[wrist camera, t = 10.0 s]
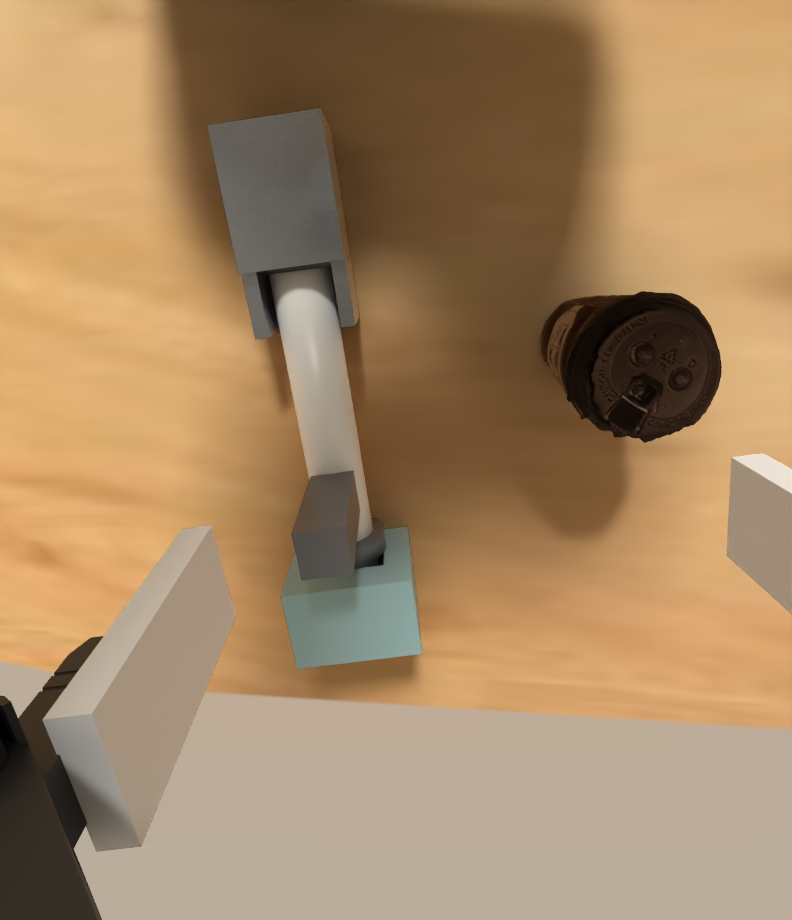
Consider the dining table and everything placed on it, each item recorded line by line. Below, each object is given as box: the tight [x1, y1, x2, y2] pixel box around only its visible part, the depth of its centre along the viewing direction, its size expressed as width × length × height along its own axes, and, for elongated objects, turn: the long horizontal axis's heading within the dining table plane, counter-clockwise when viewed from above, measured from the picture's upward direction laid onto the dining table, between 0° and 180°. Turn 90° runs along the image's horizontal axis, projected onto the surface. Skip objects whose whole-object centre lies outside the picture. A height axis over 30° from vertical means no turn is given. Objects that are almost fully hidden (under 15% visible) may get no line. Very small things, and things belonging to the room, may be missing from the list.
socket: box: [281, 526, 422, 669], centre depth 46 cm, size 6×9×8 cm, turn 98°
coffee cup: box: [541, 291, 721, 443], centre depth 38 cm, size 9×8×13 cm
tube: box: [269, 266, 386, 581], centre depth 40 cm, size 25×6×14 cm, turn 8°
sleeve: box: [207, 108, 359, 340], centre depth 39 cm, size 12×6×7 cm, turn 8°
